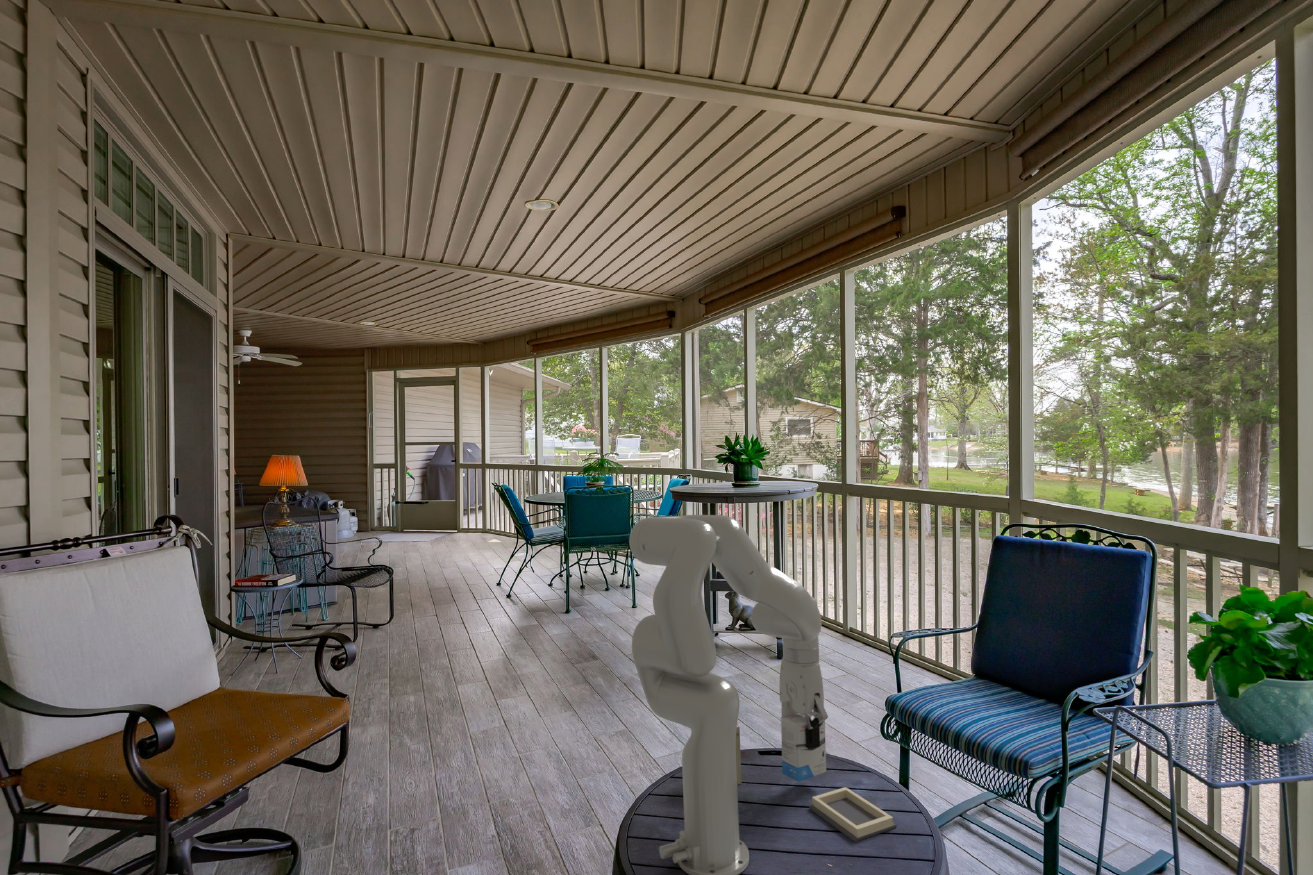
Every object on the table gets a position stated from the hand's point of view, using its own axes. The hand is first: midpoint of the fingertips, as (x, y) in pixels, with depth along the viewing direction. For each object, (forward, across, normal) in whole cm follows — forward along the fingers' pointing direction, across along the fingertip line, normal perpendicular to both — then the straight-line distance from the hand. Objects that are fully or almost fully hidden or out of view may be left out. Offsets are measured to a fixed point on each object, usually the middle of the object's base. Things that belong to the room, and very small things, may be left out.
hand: (803, 740), depth 135 cm
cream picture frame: (+10, +13, +1) cm, 16 cm away
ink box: (+7, 0, 0) cm, 7 cm away
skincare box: (+10, -11, -13) cm, 20 cm away
